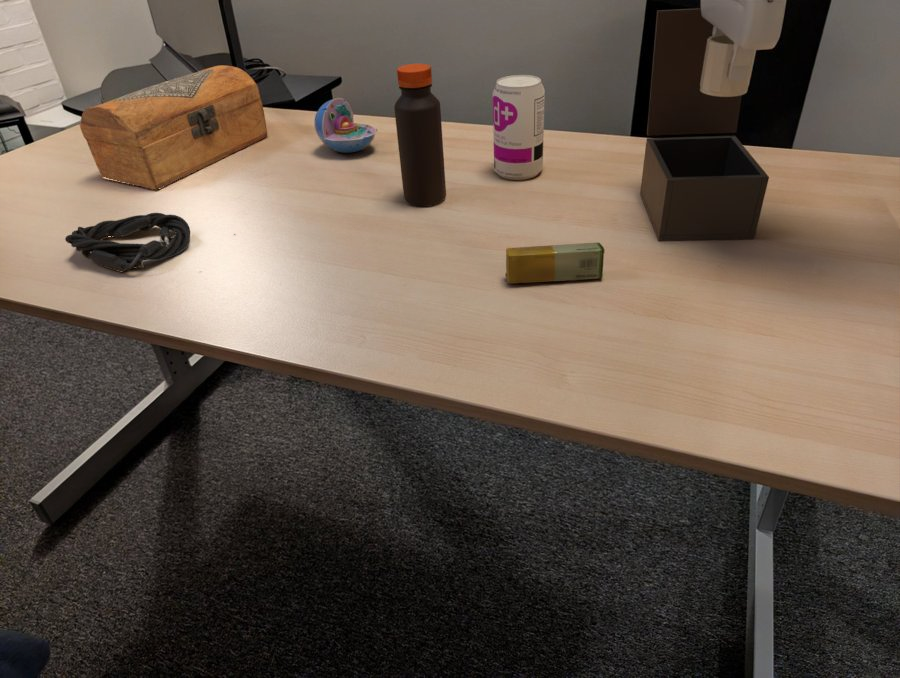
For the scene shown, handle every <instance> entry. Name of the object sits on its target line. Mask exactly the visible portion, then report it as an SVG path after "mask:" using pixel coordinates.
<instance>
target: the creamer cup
mask: <svg viewBox="0 0 900 678" xmlns="http://www.w3.org/2000/svg"><path fill="white" fill-rule="evenodd" d="M733 47H734V42H733V41H732V40H731V39H730V38H728V37H727V36H726V35H725V34H722V35H715V36H711V37H709V38H708V39H707V45H706V51H705V57H704V63H703V70H702V76H701V82H700V91H701V92H702V93H704V94H707V95H711V96H719V97H734V96H740V95H742V96H743V95H746V94H747V93H748V89H749V86H750V81H751V78H752V73H753V67H754V63H755V58H756V53H757V50H755V53H754V55H753V57H752V59H751V61H750V63H749V65H748V67H747V72H746V76H745V79H744V80H743V81H741V82H732V81H730V80H729V79H728V78H727V72H728V64H729V63H731V61H732V58H733V54H734V51H733Z"/></svg>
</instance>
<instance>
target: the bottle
mask: <svg viewBox="0 0 900 678" xmlns="http://www.w3.org/2000/svg"><path fill="white" fill-rule="evenodd" d="M396 74H397V76H396V77H397V85H398V89H399V90H400V92H401V95H400V96H399V98H397V100H396V101H395V103H394V106H393V108H394V117H395V118H394V119H395V126H396V127H395V128H396V136H397V145H398V155H399V164H400V173H401V180H402V181H401V183H402V184H401V185H402V193H403V199H404V201H405V203H407V204H408V205H410V206H413V207H432V206H436V205H438V204H440V203H442V202H443V201H444V200H445V199H446V196H447V185H446V172H445V171H446V170H445V158H444V155H445V154H444V139H443V128H442V111H441V102H440V100H439V99H438V98H437V97H436V96H435V95H434V93H432V92H431V91H432V90H431V88H432V86H433V74H432V66H431V65H429V64H427V63H408V64H404V65H400V66H399V67H397V68H396Z"/></svg>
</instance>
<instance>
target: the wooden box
mask: <svg viewBox="0 0 900 678" xmlns="http://www.w3.org/2000/svg"><path fill="white" fill-rule="evenodd" d="M78 125H79V128H80V131H81V133H82V134H81V135H82V136H83V138H84V139H85V140H86V144H87V146H88V148H89V151H90V153H91V156H92V158H93V160H94V162H95V165H96V167H97V169H98V171H99V174H100V175H101V177H106V178H109V179H113V180H117V181H120V182H125V183H129V184H134V185H138V186H142V187H141V188H143V187H146V188H145V189H148V188H151V189H150V190H153V189H156V190H155V191H158V190H157V189H159V188H161V187H163V186H166V185H168V184H169V185H171V184H173V183H175V182H177V181H179V180H181V179H183V178H186V177H187V176H189V175H191V173H192V174H194V173H196V172H198V171H200V170H201V169H203V168H206V167H208V166H210V165H213V164H214V163H216V162H218V161H220V160H222V159H224V158H227V157H228V156H229V155H232V154H234V153H236V152H239V151H240V150H243V149H245V148H247V147H250V146H251V145H253V144H255V143H257V142H260V141H262V140H263V139H265V138H267V137H268V128H267V123H266V116H265V110H264V105H263V102H262V98H261V94H260V89H259V86H258V84H257V83H256V81H255V80H254V79H253V78H252V77H251V75H249V74H248V73H247V72H246V71H245V70H243V69H241V68H239V67H237V66H233V65H224V64H222V65H214V66H211V67H208V68H205V69H202V70H198V71H196V72H193V73H189V74H185V75H182V76H179V77H174V78H172V79H168V80H166V81H162V82H159V83H156V84H153V85H149V86H148V87H144V88H140V89H138V90H135V91H133V92H130V93H127V94H124V95H121V96H119V97H117V98H114V99H112V100H109V101H106V102H103V103H101V104H98V105H95V106H91V107H88V108H86V109H85V110H84V111H83V112H82V114H81V118H80V123H79V124H78ZM197 170H198V171H197ZM182 177H183V178H182ZM180 178H181V179H180ZM178 179H179V180H178ZM176 180H177V181H176ZM174 181H175V182H174ZM172 182H173V183H172ZM170 183H171V184H170ZM129 184H128V185H129ZM134 185H133V186H134ZM169 185H168V186H169ZM138 186H137V187H138ZM166 187H167V186H166ZM159 190H160V189H159Z"/></svg>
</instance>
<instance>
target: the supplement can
mask: <svg viewBox="0 0 900 678" xmlns="http://www.w3.org/2000/svg"><path fill="white" fill-rule="evenodd" d="M545 96H546V90H545V87H544V84H543V83H542V79H541V78H540V77H539V76H536V75H529V74H513V75H507V76H502V77H500V78H498V79H497V80H496V84H495V86H494V88H493V90H492V118H493V119H492V125H493V127H492V128H493V132H492V133H493V170H494V172H495V173H497V175H498V176H499V177H501V178H503V179H507V180H512V181H523V180H529V179H532V178H534V177H536V176H538V175H539V173H540V172H541V171H543V167H544V132H545V131H544V130H545V101H546V100H545V98H546V97H545Z"/></svg>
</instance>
